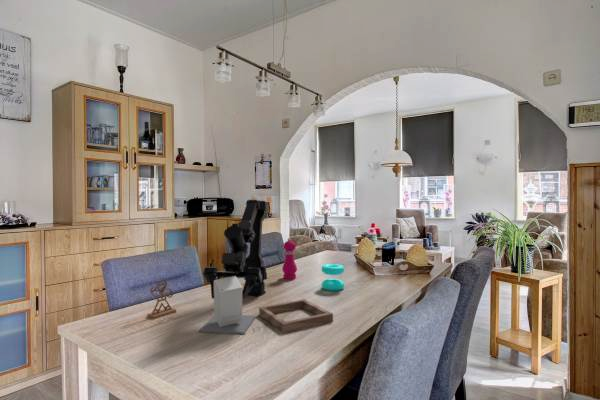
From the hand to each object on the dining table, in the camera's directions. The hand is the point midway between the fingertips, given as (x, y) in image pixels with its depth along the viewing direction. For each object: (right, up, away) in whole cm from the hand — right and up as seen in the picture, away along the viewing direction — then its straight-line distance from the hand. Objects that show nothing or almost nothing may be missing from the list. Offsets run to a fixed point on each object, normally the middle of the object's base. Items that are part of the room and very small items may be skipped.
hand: (227, 298), depth 107 cm
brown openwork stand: (-25, -9, +11) cm, 29 cm away
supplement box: (0, -7, +2) cm, 7 cm away
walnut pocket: (+21, -9, +7) cm, 24 cm away
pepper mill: (+18, -8, +63) cm, 66 cm away
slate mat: (0, -9, +1) cm, 9 cm away
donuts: (+37, -8, +44) cm, 58 cm away
